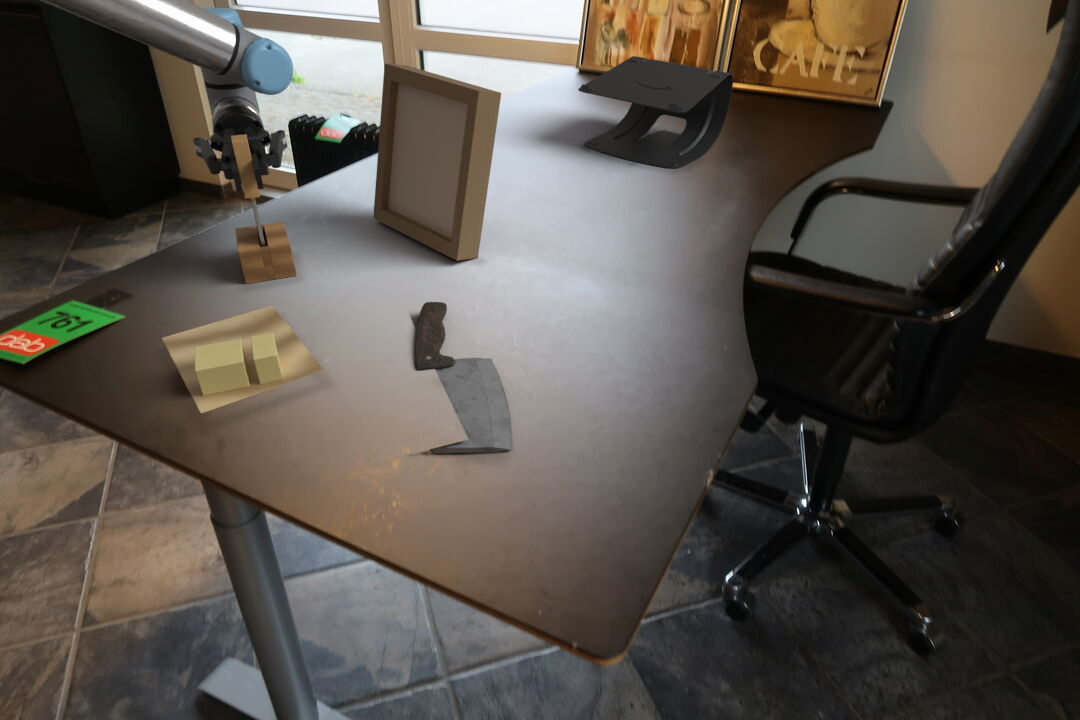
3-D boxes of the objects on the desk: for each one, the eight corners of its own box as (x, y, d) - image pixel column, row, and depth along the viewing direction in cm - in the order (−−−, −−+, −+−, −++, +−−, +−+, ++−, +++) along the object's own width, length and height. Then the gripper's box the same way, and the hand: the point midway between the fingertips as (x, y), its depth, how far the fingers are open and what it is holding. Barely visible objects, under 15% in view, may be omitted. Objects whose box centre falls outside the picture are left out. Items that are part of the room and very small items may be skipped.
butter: (202, 371, 82) (194, 346, 80) (247, 362, 84) (240, 338, 82) (203, 396, 79) (194, 371, 77) (250, 386, 80) (243, 361, 78)
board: (164, 347, 89) (161, 337, 88) (274, 314, 96) (272, 305, 95) (204, 423, 77) (200, 413, 76) (326, 379, 84) (324, 369, 83)
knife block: (242, 258, 109) (235, 228, 106) (290, 250, 111) (284, 221, 108) (246, 284, 102) (238, 253, 99) (296, 275, 104) (290, 245, 102)
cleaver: (406, 315, 96) (405, 302, 94) (477, 307, 98) (477, 294, 96) (429, 465, 73) (427, 450, 71) (521, 451, 74) (521, 436, 73)
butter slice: (256, 360, 84) (250, 336, 82) (278, 356, 85) (272, 332, 83) (260, 384, 80) (253, 359, 78) (282, 379, 81) (276, 355, 79)
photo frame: (457, 266, 108) (447, 98, 93) (373, 223, 120) (353, 69, 105) (525, 237, 117) (526, 79, 102) (441, 199, 129) (431, 54, 114)
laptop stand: (727, 144, 157) (740, 71, 148) (675, 173, 142) (686, 94, 133) (630, 121, 169) (636, 53, 161) (572, 146, 154) (576, 72, 145)
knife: (253, 232, 106) (230, 132, 97) (267, 230, 107) (245, 130, 98) (256, 248, 101) (232, 145, 93) (271, 246, 102) (248, 144, 93)
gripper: (292, 147, 116) (311, 200, 98) (193, 157, 111) (194, 214, 93) (283, 100, 111) (301, 146, 94) (180, 108, 107) (178, 159, 89)
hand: (248, 180), depth 93 cm, fingers closed on knife, 2 cm apart
